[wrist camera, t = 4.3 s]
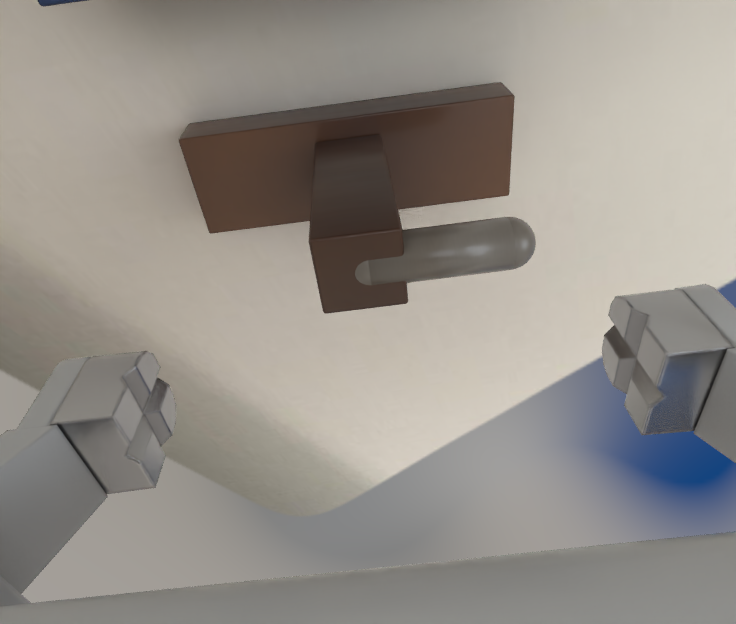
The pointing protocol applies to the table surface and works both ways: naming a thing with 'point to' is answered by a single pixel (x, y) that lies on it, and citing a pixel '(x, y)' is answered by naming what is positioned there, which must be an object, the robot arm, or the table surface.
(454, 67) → the table surface
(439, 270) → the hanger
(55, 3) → the token holder
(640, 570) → the robot arm
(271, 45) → the table surface
